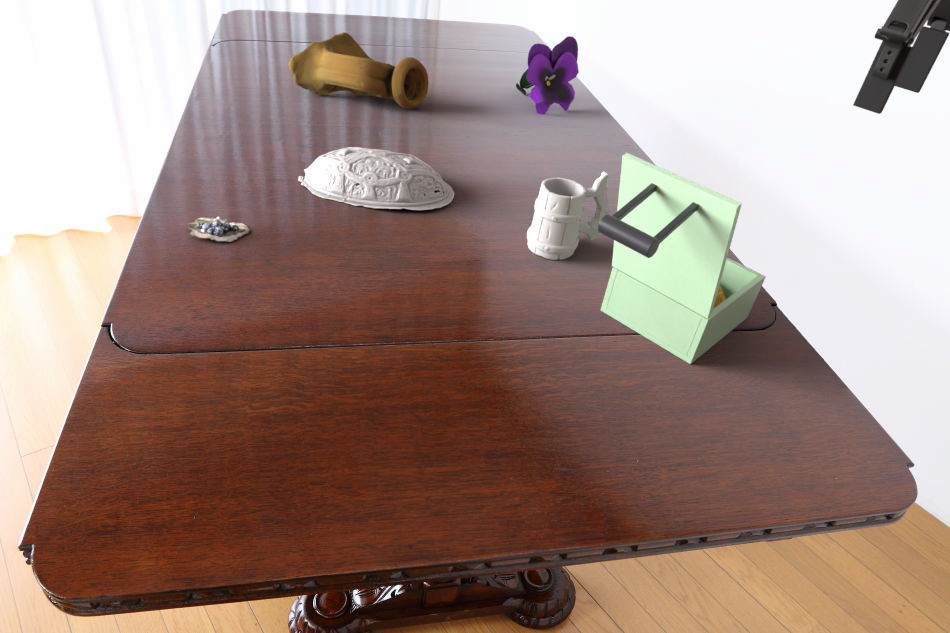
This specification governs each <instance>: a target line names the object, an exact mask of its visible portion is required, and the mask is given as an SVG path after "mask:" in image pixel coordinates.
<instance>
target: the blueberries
mask: <svg viewBox="0 0 950 633" xmlns="http://www.w3.org/2000/svg"><path fill="white" fill-rule="evenodd" d="M227 220H228V218H226V219H221V218H220V216H217V217H216V218H215V217H211V216H204V217H198V218H197V219H195V220H194V221H192V222H189V223H187V225H188V227H187V229H188V230H190V232H189V233H188V235H190V237H196V238H199V239H210V240H211V241H215V242H219V243H220V242H227V243H231V242H233V241H235V240H238V239H239V238H241V237H243V236H244V235H247V234H249V232H250V230H251V228H249V227H248V225H245V224H244V223H242V222H234V221H232V222H229V221H227Z"/></svg>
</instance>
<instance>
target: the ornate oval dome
mask: <svg viewBox="0 0 950 633" xmlns="http://www.w3.org/2000/svg"><path fill="white" fill-rule="evenodd" d="M303 171H304V173H305V174H304V176H303V175H299V176H298V179H297V180H298V182H300V185H301V186H304V187H305V188H307V190H309V192H311V194H312V195H314V196H316V197H319V198H321V199H323V200H331V201H335V202H339V203H344V204H347V205H351V206H354V207H355V206H356V207H364V208H370V209H380V210H381V209H382V210H385V209H386V210H387V209H389V210H403V209H405V210H411V211H428V210H434V209H441V208H443V207H445V206H448V205H449V204H451V203H452V201H453V199H454V198H455V191H454V190H453V188H452V187H451V185H449V183H447V182H446V181H445V180H443V178H442V176H441V175H440V173H439V172H438V171H436V170H435V169H434V168H433V167H431V165H429V164H428V163H427V162H425V161H423V160H422V159H420V158H418V157H416V156H415V155H414V154H409V153H404V152H398V151H392V150H386V149H379V148H378V149H377V148H367V147H362V146H361V147H360V146H347V147H343V148H339V149H335V150H332V151H329V152H326V153H324V154H322V155H319V156H318V157H317V158H315V159H314V161H313V162H312V163H311V164H310V165H309V166H308V167H307V168H304V169H303ZM435 191H437V192H435Z"/></svg>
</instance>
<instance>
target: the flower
mask: <svg viewBox="0 0 950 633" xmlns="http://www.w3.org/2000/svg"><path fill="white" fill-rule="evenodd" d="M578 45H579V44H578V41H577V39H576V38H575V37H574V36H570V35H569V36H566V37H565V38H564V39H562V40H561V41H560V42H559V43H557V44H555V46H553V48H552V49H551V48H550V46H548V45H547V44H543V43H534V44H533V45H532V46H531V47H530V49H529V51H528V54H527V69H526V70H525V71H524V72H523V73H522V74H521V78H520V79H519V82H516V84H515V87H516V89H517V91H519V92H520V93H521V94H522V95H524V96H526V95H527V91H526V90H528V89H530V96H529V98H530V99H531V100H532V101H533V102H534V103H535V111H536V114H539V115H546V113H548V110H549V109H550V107H551V106H552V105H553V104H558V106H560V107H561V108H562V109H563V111H564V112H567V111H568V110H569V108H570V107H571V106H570V105H571V104H572V102H573V101H574V100H575V95H576V91H575V88H574V87H573V86H574V85H572V84H571V83H569V82H571V81H572V80H574V79H576V78H577V76H578V74H579V72H580V71H579V64H578V57H579V46H578ZM525 89H526V90H525Z"/></svg>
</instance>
